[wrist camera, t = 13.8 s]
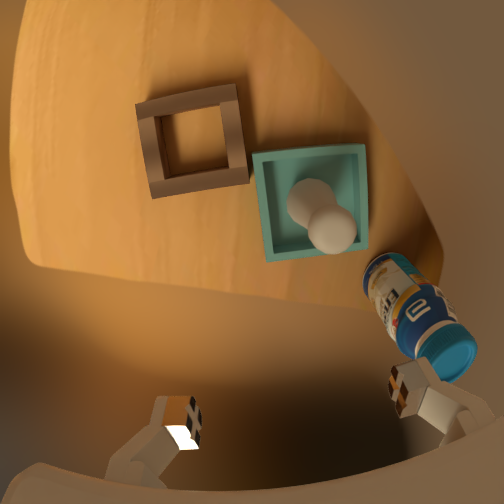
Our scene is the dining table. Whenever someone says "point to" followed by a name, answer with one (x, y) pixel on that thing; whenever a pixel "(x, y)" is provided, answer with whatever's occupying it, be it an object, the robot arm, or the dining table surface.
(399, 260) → the beverage bottle
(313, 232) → the salt shaker
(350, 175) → the tray
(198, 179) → the socket collar
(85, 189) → the dining table surface
